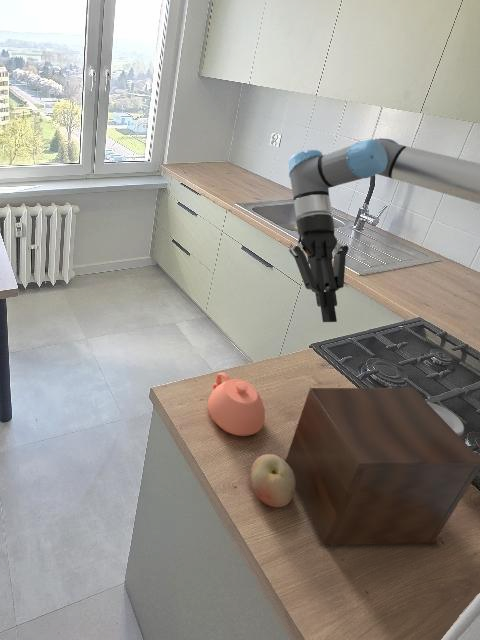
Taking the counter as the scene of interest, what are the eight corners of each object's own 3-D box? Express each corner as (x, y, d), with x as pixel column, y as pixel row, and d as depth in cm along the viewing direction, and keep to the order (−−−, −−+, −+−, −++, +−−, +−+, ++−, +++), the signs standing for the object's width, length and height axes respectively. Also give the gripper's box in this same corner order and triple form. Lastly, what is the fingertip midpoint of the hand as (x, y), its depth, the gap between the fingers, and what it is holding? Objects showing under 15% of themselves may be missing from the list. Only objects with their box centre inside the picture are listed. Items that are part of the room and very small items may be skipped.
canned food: (406, 432, 94) (424, 396, 90) (449, 458, 88) (470, 421, 84) (392, 449, 90) (410, 412, 85) (436, 478, 84) (458, 440, 80)
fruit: (237, 490, 80) (245, 462, 77) (260, 466, 85) (268, 439, 82) (276, 525, 75) (287, 496, 71) (298, 497, 79) (308, 469, 76)
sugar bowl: (229, 449, 88) (237, 415, 84) (191, 400, 100) (197, 367, 96) (273, 432, 92) (284, 398, 88) (232, 387, 104) (240, 355, 100)
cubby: (377, 463, 87) (413, 387, 78) (433, 543, 73) (484, 462, 64) (284, 464, 86) (309, 387, 77) (323, 545, 72) (360, 463, 63)
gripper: (331, 220, 100) (347, 321, 95) (278, 221, 99) (291, 322, 94) (351, 212, 93) (370, 321, 87) (295, 213, 92) (310, 322, 86)
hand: (329, 321), depth 91 cm, fingers closed
